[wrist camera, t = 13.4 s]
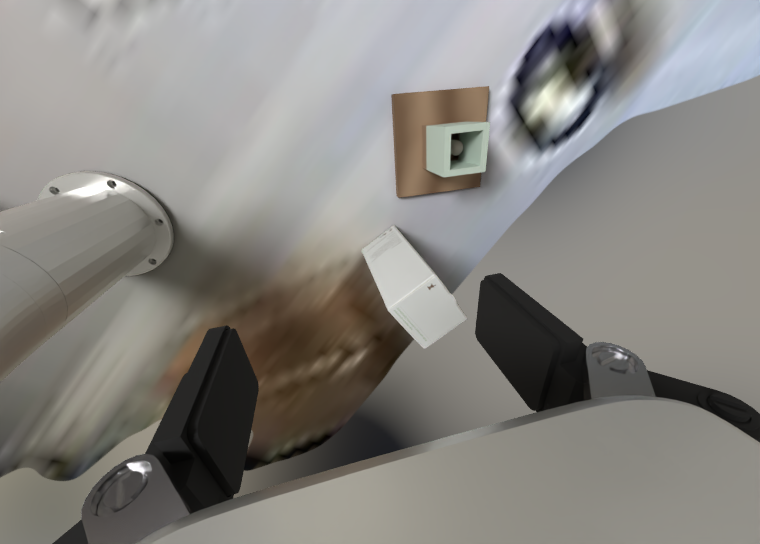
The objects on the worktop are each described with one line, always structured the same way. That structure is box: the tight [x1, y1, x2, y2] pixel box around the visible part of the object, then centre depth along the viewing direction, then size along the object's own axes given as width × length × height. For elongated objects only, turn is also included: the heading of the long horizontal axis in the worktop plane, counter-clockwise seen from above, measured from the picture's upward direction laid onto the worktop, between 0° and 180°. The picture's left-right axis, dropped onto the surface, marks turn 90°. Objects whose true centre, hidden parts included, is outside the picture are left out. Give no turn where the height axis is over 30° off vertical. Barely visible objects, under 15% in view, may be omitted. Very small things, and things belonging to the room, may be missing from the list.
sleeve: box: [422, 122, 490, 177], centre depth 34 cm, size 5×5×7 cm
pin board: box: [392, 86, 489, 198], centre depth 35 cm, size 12×12×6 cm
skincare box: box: [361, 226, 467, 349], centre depth 37 cm, size 8×7×16 cm
